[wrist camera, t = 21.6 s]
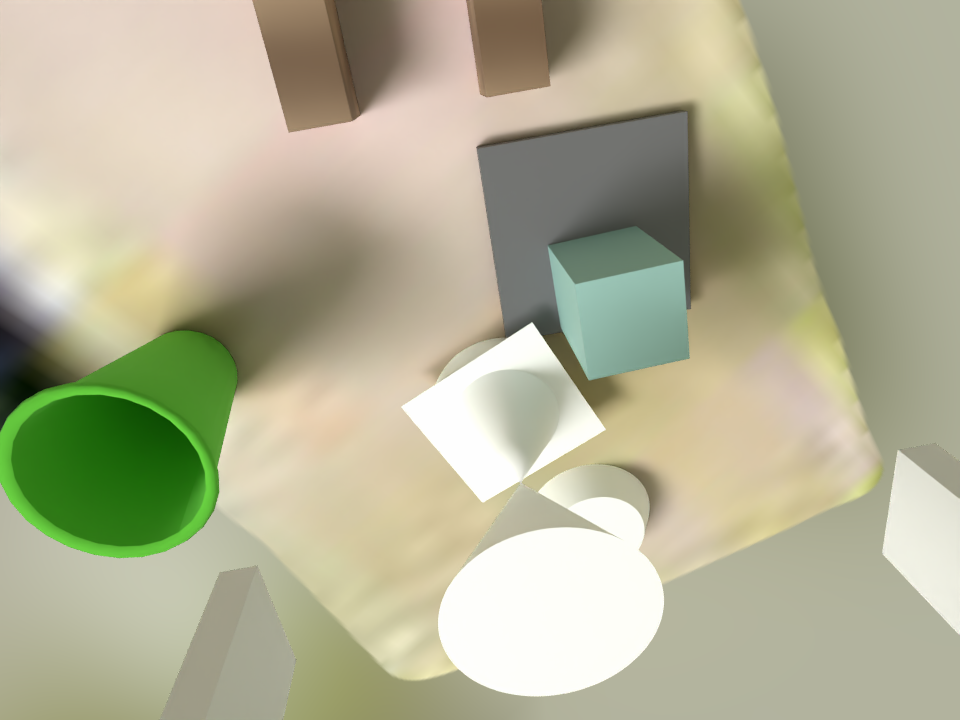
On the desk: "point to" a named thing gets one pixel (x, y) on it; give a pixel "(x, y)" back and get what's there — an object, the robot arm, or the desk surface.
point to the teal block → (620, 301)
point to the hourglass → (538, 527)
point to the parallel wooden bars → (326, 73)
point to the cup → (124, 449)
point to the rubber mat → (581, 202)
